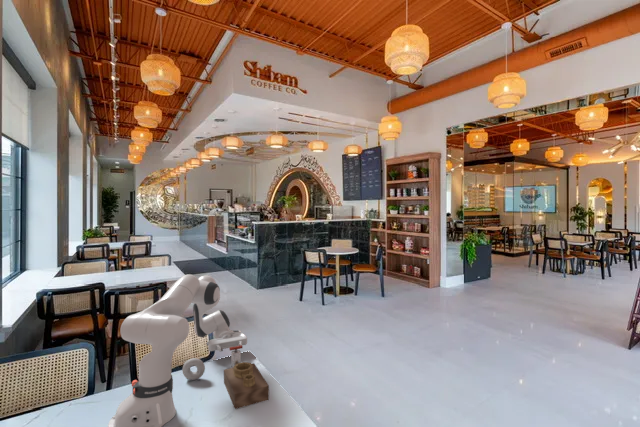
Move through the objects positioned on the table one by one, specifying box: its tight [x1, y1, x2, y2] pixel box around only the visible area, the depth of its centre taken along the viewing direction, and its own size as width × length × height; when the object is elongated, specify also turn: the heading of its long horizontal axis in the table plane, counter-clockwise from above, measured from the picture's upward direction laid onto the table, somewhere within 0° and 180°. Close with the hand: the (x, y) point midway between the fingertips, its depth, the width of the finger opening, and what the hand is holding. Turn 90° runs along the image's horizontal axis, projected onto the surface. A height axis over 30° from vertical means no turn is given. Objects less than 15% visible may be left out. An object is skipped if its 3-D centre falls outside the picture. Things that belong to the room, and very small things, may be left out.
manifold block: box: [223, 361, 270, 410], centre depth 142 cm, size 14×22×9 cm, turn 27°
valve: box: [228, 345, 243, 368], centre depth 158 cm, size 6×5×12 cm
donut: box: [182, 357, 206, 381], centre depth 151 cm, size 10×4×10 cm, turn 97°
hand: (230, 348), depth 169 cm, fingers open, 8 cm apart
